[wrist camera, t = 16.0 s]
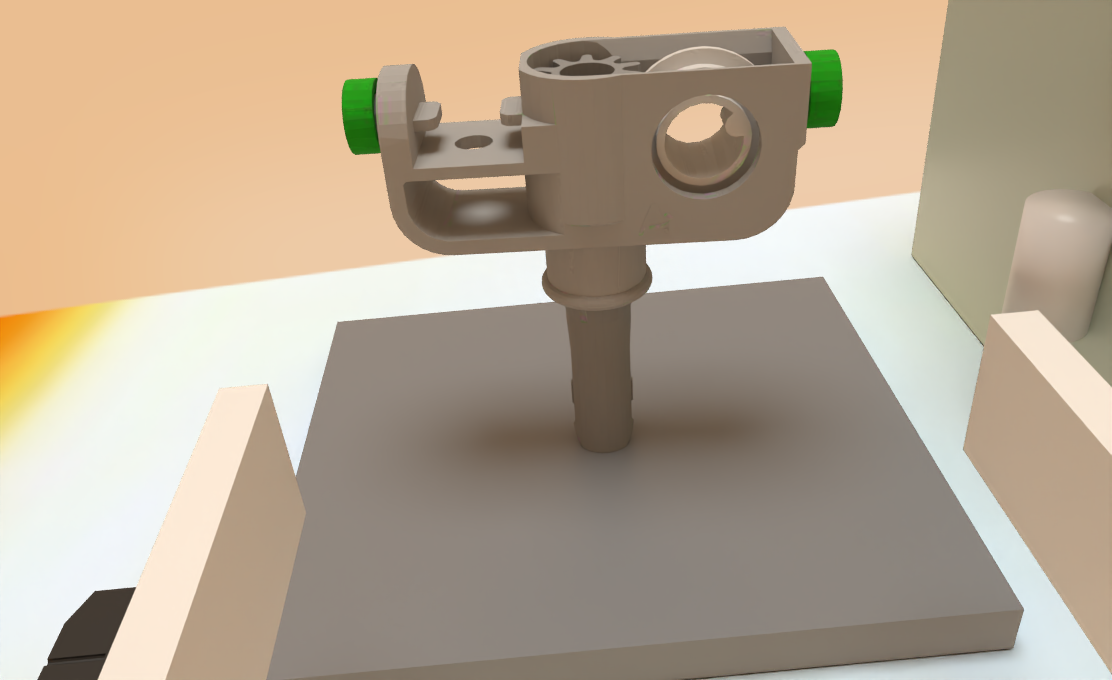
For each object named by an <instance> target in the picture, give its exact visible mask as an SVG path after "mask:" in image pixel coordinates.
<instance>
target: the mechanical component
mask: <svg viewBox="0 0 1112 680" xmlns="http://www.w3.org/2000/svg"><path fill="white" fill-rule="evenodd" d="M519 78H520V90H521V96H518V97H508V98H505V99H503V100H502V104H501V110H500V117H501V120H484V121H467V122H451V123H440V120H441V117H442V111H441V104H440V103H438V102H426V100H425V94H424V90H423V84H422V81H421V77H420V74H419V71H418V69H417V67H416V66H415V64H407V65H390V66H384V67H383V68H382V69H381V71H380V74H379V76H378V78H366V79H350V80H346V81H345V83H344V86H343V90H342V115H343V124H344V130H345V135H346V139H347V142H348V145H349V148H350V149H351V151H352V153H354V154H355V155H359V154H375V153H381V157H382V162H383V168H384V174H385V180H386V185H387V191H388V196H389V202H390V208H391V211H392V215H393V218H394V220H395V221H396V224H397V225H398V227H399V229H400V230H401V231H402V232H403V234H404V235H405V236H406V237H407V238H408V239H409V240H411V241H412V242H413V243H414V244H416V245H418V246H419V247H421V248H423V249H425V250H428V251H430V252H433V253H438V254H442V255H466V254H484V253H503V252H522V251H540V250H545V251H546V264H547V269H546V270H545V272H544V273H543V276H542V286H543V289H544V291H545V293H546V294H547V295H548V296H549V297H550V298H551V299H552V300H553V301H555V302H556V303H558V304H560V305H563V306H565V308H566V319H567V326H568V333H569V341H570V349H571V362H572V378H573V379H571V391H572V403H574V409H575V421H574V426H575V431H576V435H577V437H578V440H579V442H580V443H581V445H582V447H583V448H584V449H586V450H589V451H592V452H597V453H610V452H614V451H618V450H620V449H623V448H624V447H626V446H627V445H628V442H629V440H630V437H631V434H632V430H633V423H634V419H633V418H632V409H631V400H633V377H631V371H630V329H631V303H632V302H634V301H636V300H638V299H639V298H641V297H642V296H643V295H644V294H645V293H646V292H647V291H648V290H649V287H650V285H651V283H652V272H651V269H650V268H649V266H648V265H647V264H646V245H652V244H671V243H690V242H708V241H727V240H739V239H745V238H749V237H752V236H755V235H757V234H759V233H761V232H763V231H765V230H767V229H768V228H769V227H771V226H772V225H773V224H775V223H776V222H777V221H778V220H779V219H780V218H781V216H782V215H783V214H784V213H785V211H786V209H787V207H788V206H789V204H790V202H791V199H792V196H793V193H794V187H795V176H796V165H797V154H798V150H799V149H800V148H801V147H802V146H803V145H804V144H805V141H806V130H807V128H819V127H832V126H835V124H836V123H837V121H838V118H839V114H840V110H841V103H842V90H843V87H842V85H843V84H842V81H843V80H842V69H841V62H840V58H839V55H838V53H837V52H836V51H835V50H818V51H802V49H801V48H800V46H799V45H798V44H797V42H796V41H795V40H794V38H793V37H792V35H791V34H790V33H789V31H788V30H787V29H786V27H773V28H758V29H742V30H727V31H710V32H694V33H678V34H662V35H648V36H631V37H615V38H614V37H586V38H575V39H566V40H560V41H555V42H551V43H546V44H542V45H539V46H536V47H533V48H531V49H529V50H527V51H525V52H523V53H521V57H520V64H519ZM700 103H713V104H717V105H720V106H723V108H722V110H721V114H720V115H721V118H722V122H723V126H722V127H721V128H720V130H719V131H718V132H716V133H715V134H714V135H713V136H711V137H710V138H708V139H705V140H703V141H700V142H692V143H685V142H681V141H677V140H675V139H674V138H672V137H670V136H669V135H667V134H666V132H667V129H668V127H669V125H670V123H671V122H672V120H673V119H674V118H675V117H676V116H677V115H678V114H679V113H680V112H682V111H683V110H685V109H687V108H689V107H690V106H694V105H697V104H700ZM478 147H479V149H471V150H469V149H470V148H478ZM467 149H468V150H467ZM514 175H515V176H516V175H525V180H526V187H516V188H498V189H479V190H454V189H450V188H447V187H445V186H442V185H441V184H439V183H438V182H437V181H435V180H445V179H463V178H480V177H498V176H514Z"/></svg>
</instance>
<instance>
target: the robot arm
mask: <svg viewBox="0 0 1112 680" xmlns="http://www.w3.org/2000/svg"><path fill="white" fill-rule="evenodd" d="M963 450H964V451H965V453H966V454H967V456H968V457H969V459H970V461H971V462H972V464H973V465H974V467H975V468H976V470H977V471H978V473H979V474H980V476H981V477H982V479H983V480H984V482H985V483H986V485H987V486H988V488H989V489H990V491H991V492H992V494H993V495H994V497H995V498H996V500H997V501H998V503H999V504H1000V506H1001V507H1002V509H1003V510H1004V512H1005V513H1006V515H1007V517H1008V518H1009V520H1010V521H1011V523H1012V524H1013V526H1014V527H1015V529H1016V530H1017V532H1018V533H1019V535H1020V536H1021V538H1022V539H1023V541H1024V542H1025V544H1026V545H1027V547H1028V548H1029V550H1030V551H1031V553H1032V554H1033V556H1034V557H1035V559H1036V560H1037V562H1038V563H1039V565H1040V566H1041V568H1042V569H1043V571H1044V573H1045V574H1046V576H1047V577H1048V579H1049V580H1050V582H1051V583H1052V585H1053V586H1054V588H1055V589H1056V591H1057V592H1058V594H1059V595H1060V597H1061V598H1062V600H1063V601H1064V603H1065V604H1066V606H1067V607H1068V609H1069V610H1070V612H1071V613H1072V615H1073V616H1074V618H1075V619H1076V621H1077V622H1078V624H1079V626H1080V627H1081V629H1082V630H1083V632H1084V633H1085V635H1086V636H1087V638H1088V639H1089V641H1090V642H1091V644H1092V645H1093V647H1094V648H1095V650H1096V651H1097V653H1098V654H1099V656H1100V657H1101V659H1102V660H1103V662H1104V663H1105V665H1106V666H1107V668H1108V669H1109V671H1110V672H1111V674H1112V387H1111V386H1110V385H1109V384H1108V383H1107V382H1106V381H1105V380H1104V379H1103V378H1102V377H1101V375H1100V374H1099V373H1098V372H1097V371H1096V370H1095V369H1094V368H1093V367H1092V366H1091V365H1090V364H1089V363H1088V362H1087V361H1086V360H1085V359H1084V358H1083V357H1082V356H1081V354H1080V353H1079V352H1078V351H1077V350H1076V349H1075V348H1074V347H1073V346H1072V345H1071V344H1070V343H1069V342H1068V341H1067V340H1066V339H1065V338H1064V337H1063V336H1062V335H1061V333H1060V332H1059V331H1058V330H1057V329H1056V328H1055V327H1054V326H1053V325H1052V324H1051V323H1050V322H1049V321H1048V320H1047V319H1046V318H1045V317H1044V316H1043V315H1042V314H1041V312H1040V311H1039V310H1036V311H1025V312H1015V313H1004V314H994V315H990V320H989V325H988V330H987V335H986V339H985V344H984V349H983V354H982V359H981V364H980V369H979V374H978V378H977V383H976V388H975V393H974V398H973V403H972V408H971V413H970V418H969V422H968V427H967V432H966V437H965V442H964V447H963ZM305 515H306V510H305V507H304V504H303V500H302V497H301V494H300V490H299V487H298V484H297V480H296V477H295V474H294V470H293V467H292V464H291V460H290V457H289V454H288V450H287V447H286V444H285V440H284V437H283V433H282V430H281V427H280V423H279V420H278V417H277V413H276V410H275V407H274V403H273V400H272V397H271V393H270V390H269V387H268V384H262V385H251V386H241V387H230V388H220V389H219V390H218V393H217V395H216V398H215V400H214V402H213V405H212V407H211V410H210V412H209V414H208V417H207V419H206V422H205V424H204V426H203V429H202V431H201V434H200V436H199V438H198V441H197V443H196V446H195V448H194V450H193V453H192V455H191V458H190V460H189V462H188V465H187V467H186V469H185V472H184V474H183V477H182V479H181V481H180V484H179V486H178V489H177V491H176V493H175V496H174V498H173V501H172V503H171V505H170V508H169V510H168V513H167V515H166V517H165V520H164V522H163V525H162V527H161V529H160V532H159V534H158V537H157V539H156V541H155V544H154V546H153V548H152V551H151V553H150V556H149V558H148V560H147V563H146V565H145V568H144V570H143V572H142V575H141V577H140V580H139V582H138V584H137V587H133V588H123V589H112V590H102V591H95V592H94V593H93V594H92V595H91V596H90V597H89V598H88V599H87V600H86V601H85V602H84V603H83V604H82V606H81V607H80V608H79V609H78V610H77V611H76V612H75V613H74V614H73V615H72V616H71V617H70V618H69V619H68V620H67V621H66V623H65V624H64V626H63V628H62V630H61V632H60V634H59V636H58V638H57V640H56V642H55V644H54V646H53V649H52V651H51V653H50V655H49V657H48V665H47V666H44V667H43V669H42V671H41V673H40V676H39V678H38V680H266V678H267V674H268V670H269V666H270V662H271V657H272V653H273V649H274V645H275V641H276V637H277V632H278V628H279V624H280V620H281V616H282V611H283V607H284V603H285V599H286V595H287V591H288V586H289V582H290V578H291V574H292V570H293V565H294V561H295V557H296V553H297V549H298V545H299V540H300V536H301V532H302V528H303V524H304V519H305Z"/></svg>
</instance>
